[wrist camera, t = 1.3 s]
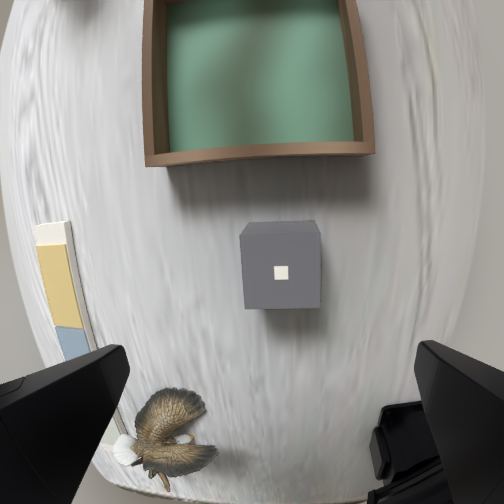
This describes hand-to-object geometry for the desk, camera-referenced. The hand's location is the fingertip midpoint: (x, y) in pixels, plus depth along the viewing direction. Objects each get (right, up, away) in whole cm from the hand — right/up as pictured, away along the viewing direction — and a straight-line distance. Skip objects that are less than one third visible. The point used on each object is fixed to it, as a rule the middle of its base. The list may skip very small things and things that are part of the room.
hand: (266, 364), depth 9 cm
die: (+2, +3, +11) cm, 12 cm away
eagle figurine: (-7, -12, +17) cm, 22 cm away
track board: (-15, -6, +16) cm, 23 cm away
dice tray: (0, +15, +9) cm, 17 cm away
